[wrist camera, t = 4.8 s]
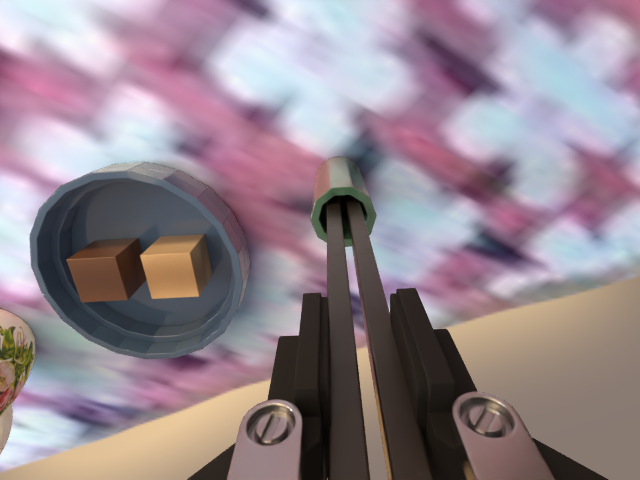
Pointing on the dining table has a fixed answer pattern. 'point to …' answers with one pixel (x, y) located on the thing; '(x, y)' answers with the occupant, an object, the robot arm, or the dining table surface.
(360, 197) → the holder
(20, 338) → the pitcher
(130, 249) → the walnut block
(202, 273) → the beech block
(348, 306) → the chopsticks
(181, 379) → the dining table surface
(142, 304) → the bowl
